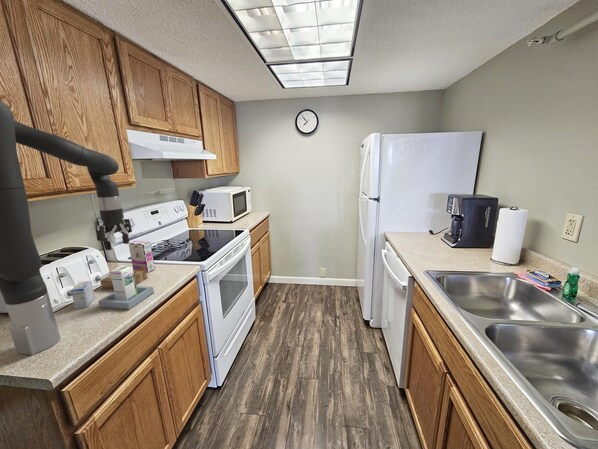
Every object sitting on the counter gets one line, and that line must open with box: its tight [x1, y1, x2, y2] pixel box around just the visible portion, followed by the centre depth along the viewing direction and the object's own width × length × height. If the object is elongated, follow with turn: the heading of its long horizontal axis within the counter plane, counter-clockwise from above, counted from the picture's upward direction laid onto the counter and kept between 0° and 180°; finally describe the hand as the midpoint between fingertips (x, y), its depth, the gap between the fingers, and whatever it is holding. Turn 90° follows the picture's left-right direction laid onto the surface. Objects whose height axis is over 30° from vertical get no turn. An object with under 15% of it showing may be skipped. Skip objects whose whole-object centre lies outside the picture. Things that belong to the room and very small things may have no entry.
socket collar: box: [99, 269, 149, 291], centre depth 125 cm, size 13×13×4 cm
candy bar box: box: [128, 240, 156, 274], centre depth 139 cm, size 11×5×16 cm, turn 71°
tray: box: [97, 285, 155, 311], centre depth 110 cm, size 14×14×3 cm
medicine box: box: [70, 280, 96, 310], centre depth 107 cm, size 8×4×9 cm, turn 21°
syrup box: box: [109, 265, 138, 301], centre depth 108 cm, size 6×6×14 cm
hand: (117, 246), depth 104 cm, fingers open, 8 cm apart
